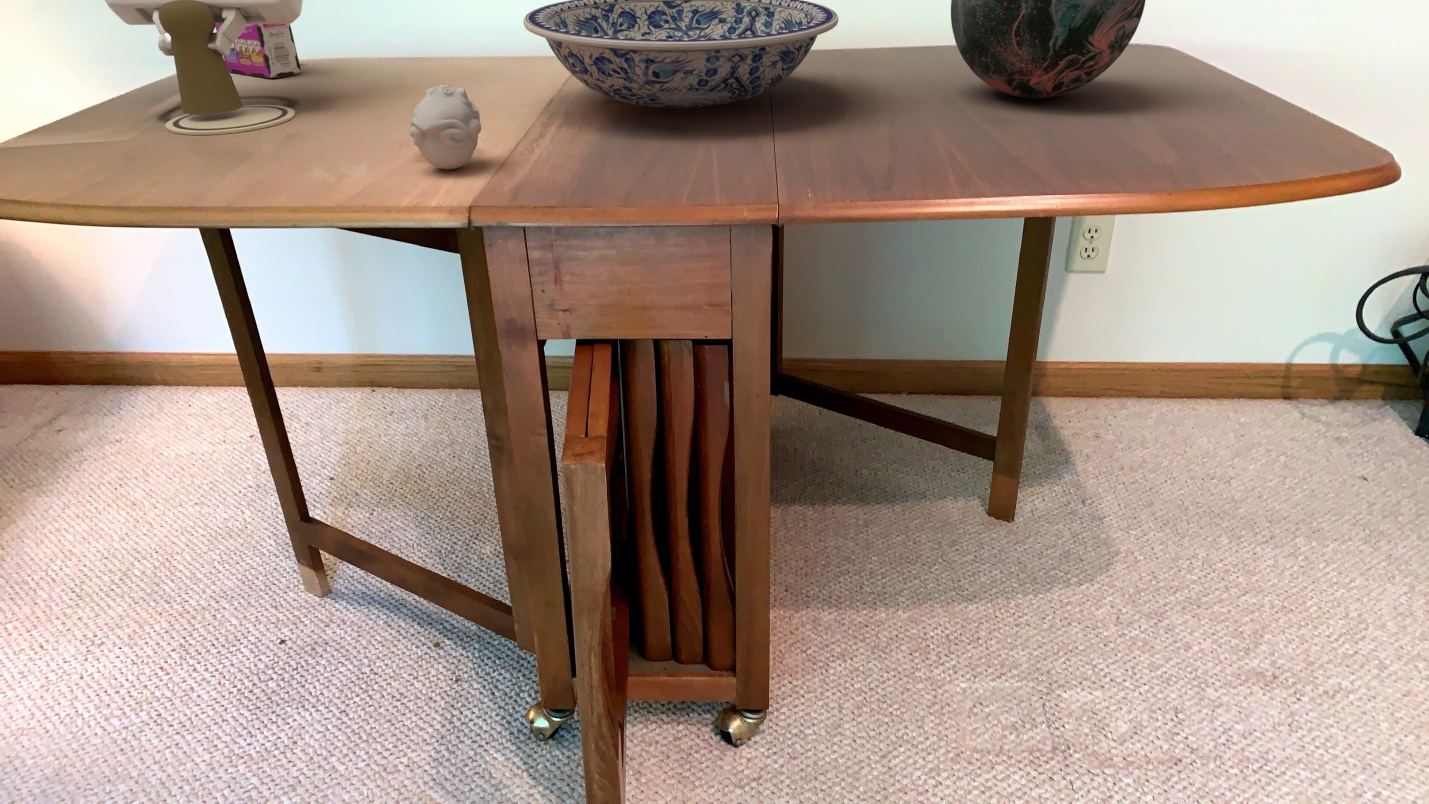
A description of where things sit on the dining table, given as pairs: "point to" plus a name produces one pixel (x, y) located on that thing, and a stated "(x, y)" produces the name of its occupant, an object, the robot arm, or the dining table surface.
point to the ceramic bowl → (681, 46)
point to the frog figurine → (446, 127)
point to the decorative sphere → (1042, 41)
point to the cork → (198, 59)
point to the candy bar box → (264, 51)
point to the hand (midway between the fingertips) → (193, 52)
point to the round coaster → (231, 120)
